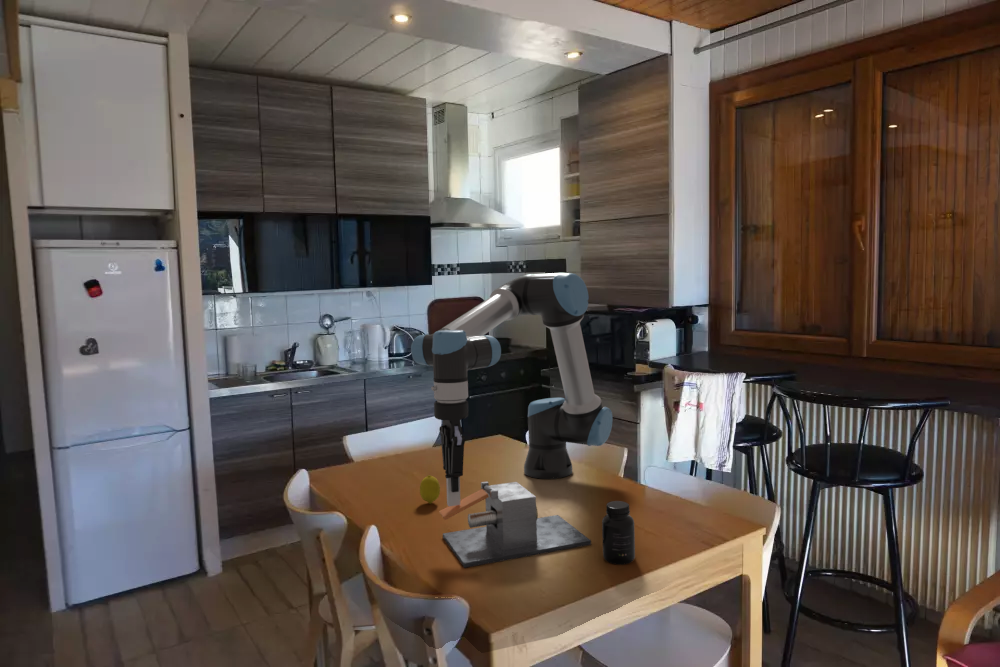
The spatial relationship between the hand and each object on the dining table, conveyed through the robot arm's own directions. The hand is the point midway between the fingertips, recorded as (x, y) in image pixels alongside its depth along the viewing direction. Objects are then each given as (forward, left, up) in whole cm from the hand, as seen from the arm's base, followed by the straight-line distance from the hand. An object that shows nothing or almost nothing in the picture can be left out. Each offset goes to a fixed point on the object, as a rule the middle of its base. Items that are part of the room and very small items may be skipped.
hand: (453, 504), depth 147 cm
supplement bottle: (-31, +18, -11) cm, 38 cm away
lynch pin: (-11, 0, -7) cm, 13 cm away
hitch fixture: (-13, 0, -11) cm, 17 cm away
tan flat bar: (-3, 0, -1) cm, 3 cm away
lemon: (-2, -34, -11) cm, 36 cm away
